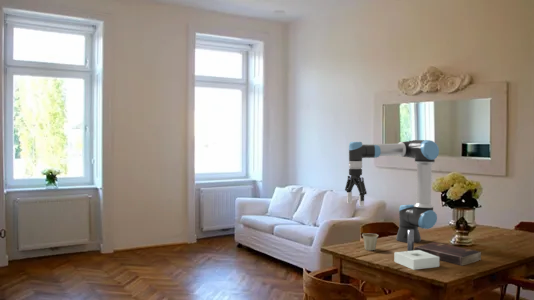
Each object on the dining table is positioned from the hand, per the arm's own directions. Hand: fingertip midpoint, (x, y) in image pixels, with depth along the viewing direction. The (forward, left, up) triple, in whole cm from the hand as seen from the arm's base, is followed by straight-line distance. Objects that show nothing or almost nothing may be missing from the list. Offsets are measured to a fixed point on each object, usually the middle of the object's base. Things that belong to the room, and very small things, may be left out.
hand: (355, 204), depth 271 cm
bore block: (-16, +35, -27) cm, 47 cm away
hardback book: (-41, +29, -28) cm, 57 cm away
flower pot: (-11, -1, -28) cm, 30 cm away
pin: (-26, +17, -27) cm, 41 cm away
